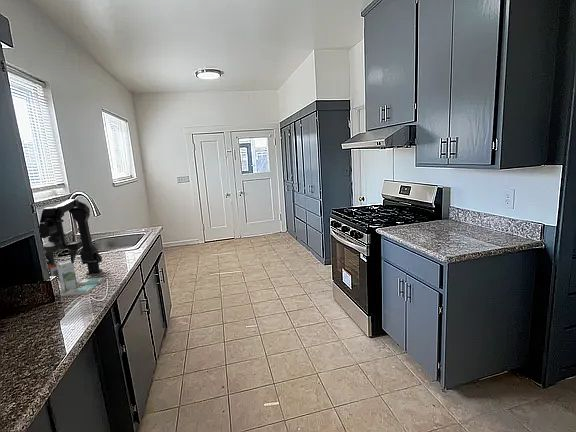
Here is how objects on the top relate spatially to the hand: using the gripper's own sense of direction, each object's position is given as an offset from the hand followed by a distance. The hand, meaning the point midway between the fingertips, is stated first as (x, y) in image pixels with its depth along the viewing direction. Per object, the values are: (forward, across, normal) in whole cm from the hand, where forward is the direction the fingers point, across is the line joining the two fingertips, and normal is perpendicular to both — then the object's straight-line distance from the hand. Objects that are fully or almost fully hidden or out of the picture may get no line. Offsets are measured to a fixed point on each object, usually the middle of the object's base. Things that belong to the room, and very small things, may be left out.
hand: (62, 264), depth 163 cm
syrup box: (+15, -2, +4) cm, 16 cm away
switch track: (+15, +2, +4) cm, 16 cm away
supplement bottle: (+15, -20, +23) cm, 34 cm away
